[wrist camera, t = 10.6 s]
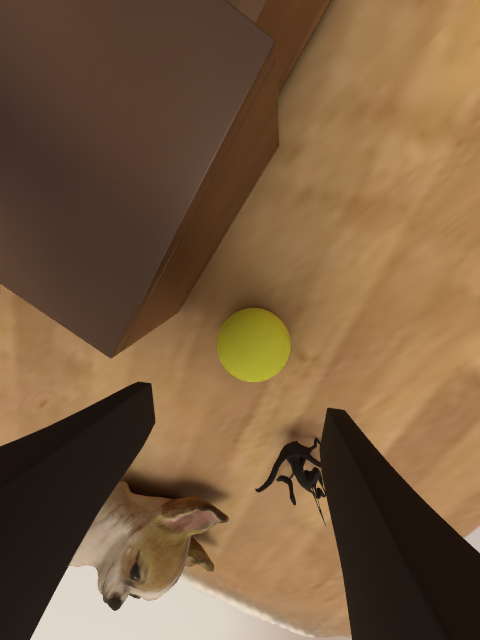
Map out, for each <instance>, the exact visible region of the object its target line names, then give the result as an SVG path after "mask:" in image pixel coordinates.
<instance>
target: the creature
mask: <svg viewBox="0 0 480 640" xmlns="http://www.w3.org/2000/svg"><path fill="white" fill-rule="evenodd" d="M317 442H318V443H319V444H321V443H320V441H319V440H318V438H315V440H314V445H313V446H312V447H310V448H308V447H305V446H303V445H301V444H299V443H298V442H297V441H296V442H294V441H293V442H291V443H289V444H287V445H285V446H284V447H283V449H282V450H281V452H280V455H279V457H278V459H277V461H276V462H275V464H274V466H273V468H272V471H271V474H270V476H269V478H268V479H267V481H266V482H265V483H264V484H263V485H262V486H261V487H260V488H259V489H256V488H255V490H256V491H257V492H261V491H263V490H265V489H266V488H267V487H268V486H270V485H271V484H272V482H273V481H274V479H275V477H276V475H277V472H278V469H279V467H280V465H281V464H282V463H283V461H284V460H286V459H287V461H288V462H289V463H290V465H291V467H292V471H293V474H292V476H291V478H292V477H293V475H295V477H296V478H297V480H298V482H299V483H300V485H301V486H302V487H303V488H305V489H306V490H307V491H309V492H311V493H312V494H313V496H314V498H315V497H316V498H317V499H320V497H321V496H322V497H326V492H325V490H324V488H323V482H322V477H321V473H320V471H319V469H318V468H316V467H314V468H313V470H312V471H308V470H305V471H303V466H304V463H305V461H306V459H307V460H309V461H310V462H312V463H313V464H315V465H316V466H318V467H320V468H321V462H319V461H317V460H316V459H315V458H313V457H312V456H311V455H310V453H311V451H312V450H313V449H314V448H316V447H317ZM291 478H288V477H286V476H282V475H281V476H279V477H278V478H277V479H276V480H277V481H283V482H285V483H287V484H288V485H289V491H290V499H291V501H292V503H293V504H294V505H296V501H295V497H294V493H293V483H292V481H291ZM318 479H319V482H320V484H321V486H322V488H323V490H324V492H325V495H324V493H323V491H322V490H321V489H320V488H317V489H316V483H317V481H318ZM313 487H314V489H315V492H316V491H317V492H316V494H315V492H314V490H313V491H312V490H311V488H312V489H313ZM313 492H314V493H313ZM314 494H315V495H314ZM316 498H315V501H316ZM316 503H317V501H316ZM318 503H319V502H318ZM317 506H318V504H317ZM318 508H320V505H319V507H318ZM319 511H320V514H321V516H322V513H321V509H319ZM322 518H323V516H322ZM323 521H324V519H323ZM324 523H325V522H324ZM325 526H326V525H325Z"/></svg>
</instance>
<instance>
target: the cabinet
mask: <svg viewBox="0 0 480 640" xmlns="http://www.w3.org/2000/svg"><path fill="white" fill-rule="evenodd" d="M278 146H279V132H278V96H277V60H276V41H275V39H274V38H273V37H272V36H270V35H269V34H268V33H267V32H265V31H264V30H263V29H262V28H260V27H259V26H258V25H256V24H255V23H254V22H253V21H251V20H250V19H249V18H248V17H246V16H245V15H244V14H243V13H241V12H240V11H239V10H238V9H236V8H235V7H234V6H233V5H231V4H230V3H229V2H228V1H226V0H0V284H1V285H3V286H4V287H6V288H7V289H9V290H10V291H12V292H13V293H15V294H16V295H18V296H19V297H21V298H22V299H24V300H25V301H27V302H28V303H30V304H31V305H32V306H34V307H35V308H37V309H38V310H40V311H41V312H43V313H44V314H46V315H47V316H49V317H50V318H52V319H53V320H55V321H56V322H58V323H59V324H61V325H62V326H64V327H65V328H67V329H68V330H69V331H71V332H72V333H74V334H75V335H77V336H78V337H80V338H81V339H83V340H84V341H86V342H87V343H89V344H90V345H92V346H93V347H95V348H96V349H98V350H99V351H101V352H102V353H103V354H105V355H106V356H108V357H109V358H113V357H114V356H116V355H117V354H118V353H120V352H122V351H123V350H124V349H126V348H127V347H129V346H130V345H132V344H133V343H135V342H136V341H137V340H139V339H140V338H142V337H143V336H145V335H146V334H148V333H149V332H150V331H152V330H153V329H155V328H156V327H158V326H159V325H161V324H162V323H164V322H165V321H166V320H168V319H169V318H171V317H172V316H174V315H175V314H177V313H178V312H179V310H180V308H181V307H182V305H183V303H184V302H185V300H186V298H187V297H188V295H189V293H190V292H191V290H192V288H193V287H194V285H195V283H196V282H197V280H198V278H199V277H200V275H201V273H202V272H203V270H204V269H205V267H206V265H207V264H208V262H209V260H210V259H211V257H212V255H213V254H214V252H215V250H216V249H217V247H218V245H219V244H220V242H221V240H222V239H223V237H224V235H225V234H226V232H227V230H228V229H229V227H230V225H231V224H232V222H233V220H234V219H235V217H236V216H237V214H238V212H239V211H240V209H241V207H242V206H243V204H244V202H245V201H246V199H247V197H248V196H249V194H250V192H251V191H252V189H253V187H254V186H255V184H256V182H257V181H258V179H259V177H260V176H261V174H262V172H263V171H264V169H265V167H266V166H267V164H268V163H269V161H270V159H271V158H272V156H273V154H274V153H275V151H276V149H277V148H278Z"/></svg>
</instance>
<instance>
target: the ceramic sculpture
mask: <svg viewBox="0 0 480 640" xmlns="http://www.w3.org/2000/svg"><path fill="white" fill-rule="evenodd" d="M228 521H229V518H228V516H227V515H225V514H224V513H223V512H221V511H220V510H219V509H217V508H216V507H214V506H213V505H211V504H210V503H208V502H206V501H204V500H202V499H201V498H199V497H196V496H189V497H184V498H178V499H169V498H163V497H149V496H143V495H137V494H133V493H132V492H131V491H130V489H129V486H128V484H127V483H126V482H124V481H121V482H119V483H118V484H117V486H116V487H115V489H114V490H113V492H112V493H111V495H110V496H109V498H108V499H107V501H106V502H105V504H104V505H103V507H102V508H101V510H100V511H99V513H98V515H97V516H96V518H95V520H94V521H93V523H92V525H91V527H90V528H89V530H88V532H87V534H86V535H85V537H84V539H83V541H82V542H81V544H80V546H79V548H78V549H77V551H76V553H75V555H74V557H73V559H72V560H71V562H70V564H69V566H76V567H79V566H86V565H89V566H94V567H95V568H96V569H97V571H98V577H99V578H98V589H99V591H100V593H101V594H102V595H103V601H104V602H105V603H107V604H108V605H109V606H110V607H111V608H112V610H114V611H116V610H118V609H119V608H120V607H121V605H122V604H123V602H124V601H125V600H126V598H127V597H128V595H130V596H132V597H134V598H138V599H140V598H143V599H145V600H147V601H151V600H155V599H157V598H159V597H160V596H162V595H163V594H164V593H166V592H167V591H169V589H170V588H171V587H172V586H173V585H174V584H175V583H176V582H177V580H178V579H179V577H180V575H181V573H182V571H183V568H184V566H187V567H190V566H194V565H196V564H198V565H201V566H202V567H203V568H205V569H206V570H207V571H214V565H213V563H212V562H211V560H210V558H209V557H208V555H207V553H206V552H205V551H204V549H203V548H202V546H201V545H200V544H199V543H198V542H197V541H196V540H195V539H193V538H192V537H191V536H192V535H195V534H201V533H204V532H206V531H207V530H208V529H209V528H211V527H212V526H214V525H215V524H218V523H224V522H228Z"/></svg>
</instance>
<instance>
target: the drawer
mask: <svg viewBox="0 0 480 640" xmlns="http://www.w3.org/2000/svg"><path fill="white" fill-rule="evenodd" d="M226 1H228V2H229V3H230V4H231V5H233V6H234V7H235V8H236V9H238V10H239V11H240V12H241V13H243V14H244V15H245V16H246V17H248V18H249V19H250V20H251V21H253V22H254V23H255V24H256V25H258V26H259V27H260V28H262V29H263V30H264V31H265V32H267V33H268V34H269V35H270V36H272V37H273V38H274V39H275V41H276V60H277V95H278V93H279V92H280V90H281V88H282V86H283V84H284V83H285V81H286V79H287V77H288V75H289V74H290V72H291V70H292V68H293V67H294V65H295V63H296V61H297V59H298V58H299V56H300V54H301V52H302V50H303V49H304V47H305V45H306V43H307V42H308V40H309V38H310V36H311V34H312V33H313V31H314V29H315V27H316V25H317V24H318V22H319V20H320V18H321V16H322V15H323V13H324V11H325V9H326V8H327V6H328V4H329V2H330V0H226Z"/></svg>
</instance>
